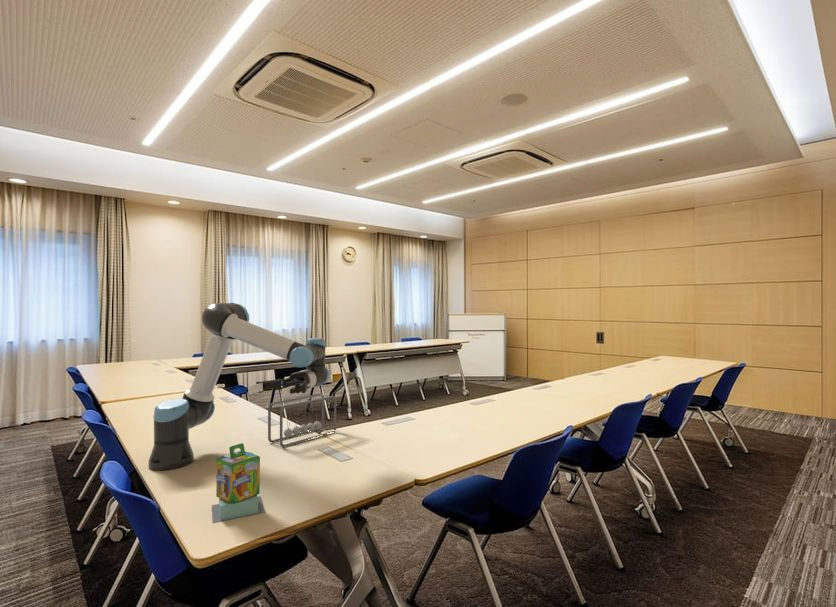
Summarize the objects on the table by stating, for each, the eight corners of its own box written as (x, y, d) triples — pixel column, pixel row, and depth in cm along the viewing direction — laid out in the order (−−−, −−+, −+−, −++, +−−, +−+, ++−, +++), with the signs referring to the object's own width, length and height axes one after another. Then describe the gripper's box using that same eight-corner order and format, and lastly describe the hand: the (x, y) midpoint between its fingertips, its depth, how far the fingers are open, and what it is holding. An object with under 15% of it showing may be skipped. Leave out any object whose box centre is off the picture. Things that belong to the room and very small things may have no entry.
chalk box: (232, 505, 123) (232, 452, 123) (214, 496, 128) (215, 446, 128) (261, 493, 130) (261, 444, 130) (243, 486, 136) (243, 438, 136)
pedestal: (220, 520, 122) (220, 505, 122) (219, 505, 131) (219, 492, 131) (258, 512, 127) (258, 498, 127) (254, 498, 136) (254, 485, 136)
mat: (212, 525, 121) (212, 523, 121) (211, 507, 131) (211, 505, 131) (265, 514, 127) (265, 512, 127) (260, 498, 138) (260, 496, 138)
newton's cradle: (280, 448, 185) (280, 406, 185) (267, 443, 191) (267, 403, 191) (336, 432, 207) (336, 395, 207) (323, 428, 214) (323, 392, 214)
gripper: (330, 393, 163) (297, 405, 143) (274, 388, 171) (235, 400, 150) (330, 373, 163) (297, 382, 143) (274, 369, 171) (235, 378, 150)
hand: (265, 391), depth 146 cm, fingers open, 13 cm apart
